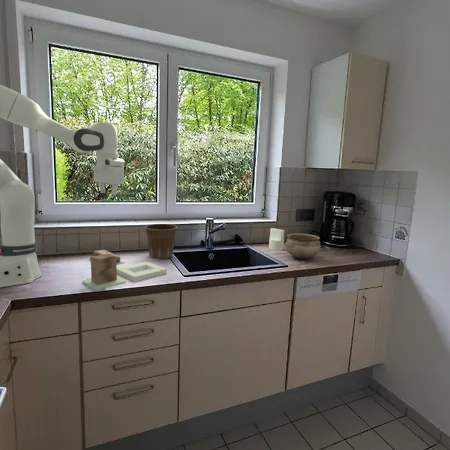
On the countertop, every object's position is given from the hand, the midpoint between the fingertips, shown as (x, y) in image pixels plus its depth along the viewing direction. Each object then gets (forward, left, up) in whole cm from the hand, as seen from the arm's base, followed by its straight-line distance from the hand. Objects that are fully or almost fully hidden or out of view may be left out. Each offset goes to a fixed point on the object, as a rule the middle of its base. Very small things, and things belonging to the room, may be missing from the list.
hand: (108, 193), depth 138 cm
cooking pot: (+87, -50, -34) cm, 106 cm away
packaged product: (+4, +11, -35) cm, 37 cm away
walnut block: (-11, -16, -33) cm, 38 cm away
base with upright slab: (+95, -28, -34) cm, 105 cm away
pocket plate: (+6, -16, -34) cm, 38 cm away
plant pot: (+30, +2, -34) cm, 46 cm away
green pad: (-11, -16, -34) cm, 39 cm away
